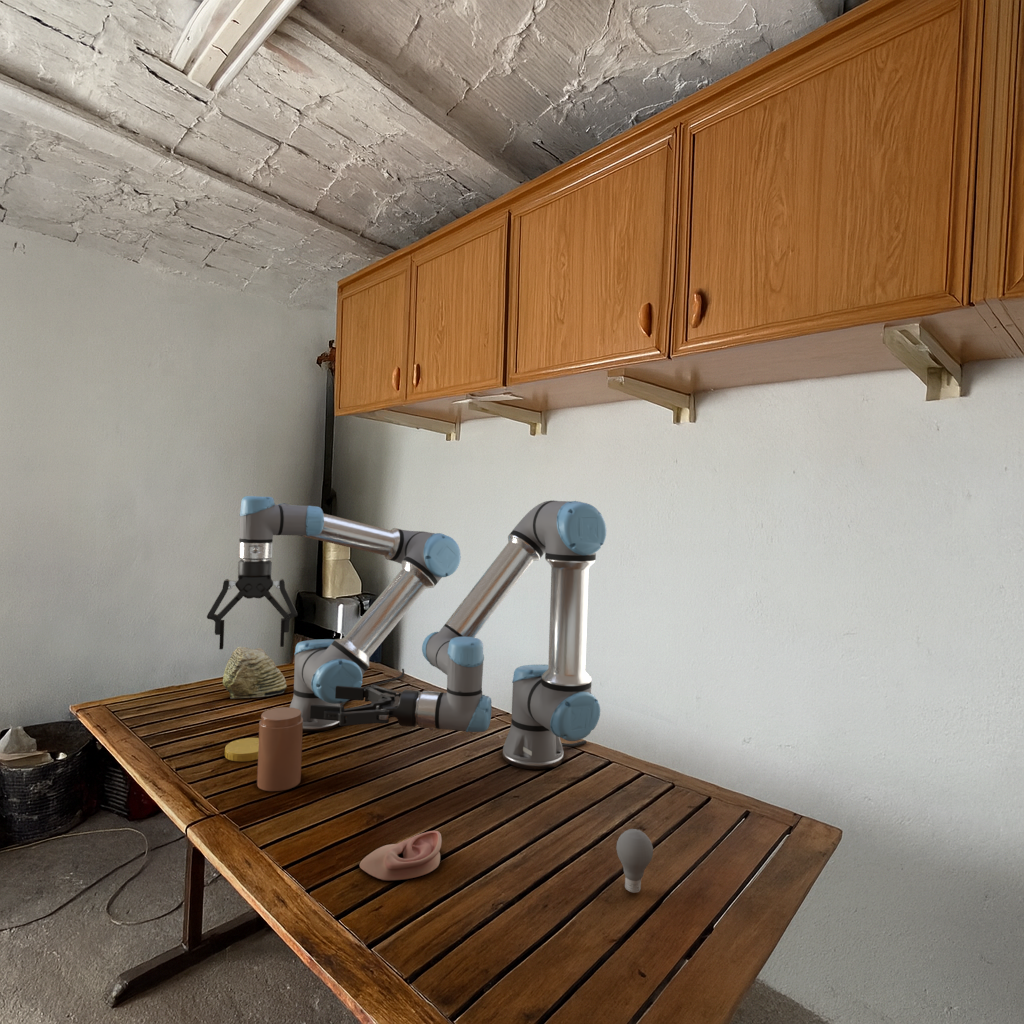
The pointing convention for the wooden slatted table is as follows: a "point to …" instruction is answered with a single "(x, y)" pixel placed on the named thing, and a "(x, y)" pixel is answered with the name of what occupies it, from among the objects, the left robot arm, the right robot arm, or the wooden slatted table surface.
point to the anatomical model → (405, 858)
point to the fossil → (252, 674)
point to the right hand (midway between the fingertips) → (323, 701)
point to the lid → (242, 750)
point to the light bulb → (634, 857)
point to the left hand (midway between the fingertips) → (252, 647)
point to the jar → (280, 749)
